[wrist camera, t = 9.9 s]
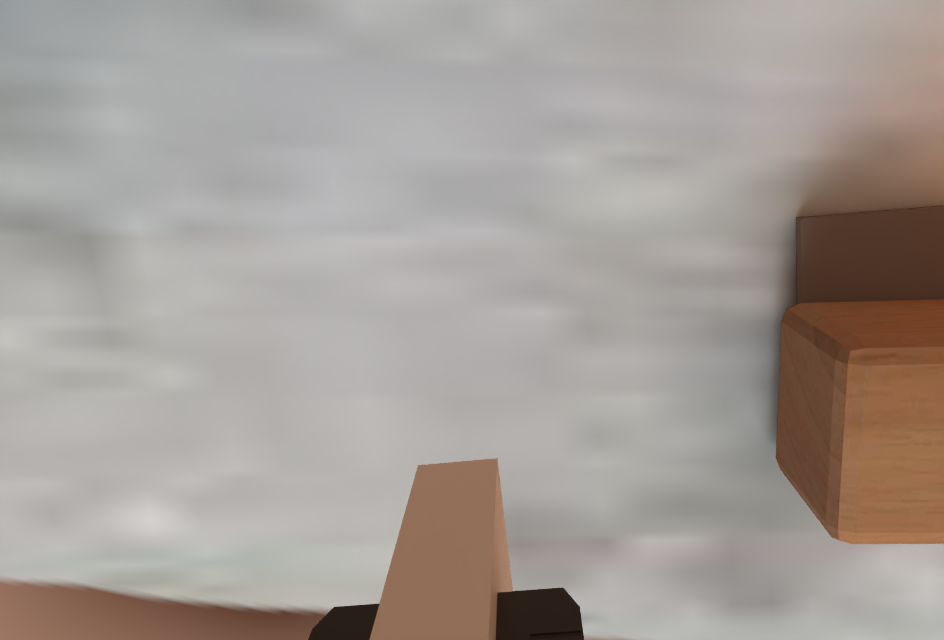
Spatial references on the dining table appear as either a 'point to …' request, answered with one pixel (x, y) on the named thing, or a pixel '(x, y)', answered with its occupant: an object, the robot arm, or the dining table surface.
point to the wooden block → (865, 417)
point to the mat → (871, 256)
